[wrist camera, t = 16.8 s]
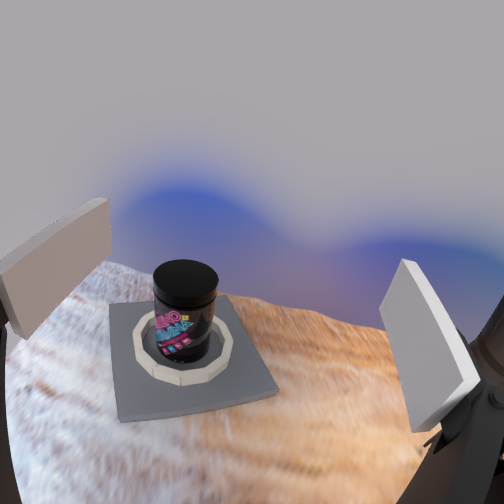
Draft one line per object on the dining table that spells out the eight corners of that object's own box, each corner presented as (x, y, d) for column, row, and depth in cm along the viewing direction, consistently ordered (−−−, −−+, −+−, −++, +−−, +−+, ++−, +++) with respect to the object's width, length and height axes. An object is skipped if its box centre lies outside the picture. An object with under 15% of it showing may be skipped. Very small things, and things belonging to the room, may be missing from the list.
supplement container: (153, 328, 35) (151, 259, 30) (203, 325, 37) (210, 258, 33) (159, 369, 30) (155, 299, 25) (215, 363, 32) (226, 295, 27)
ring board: (225, 302, 45) (228, 287, 44) (275, 395, 31) (281, 381, 30) (110, 311, 37) (108, 295, 36) (120, 422, 23) (115, 409, 22)
